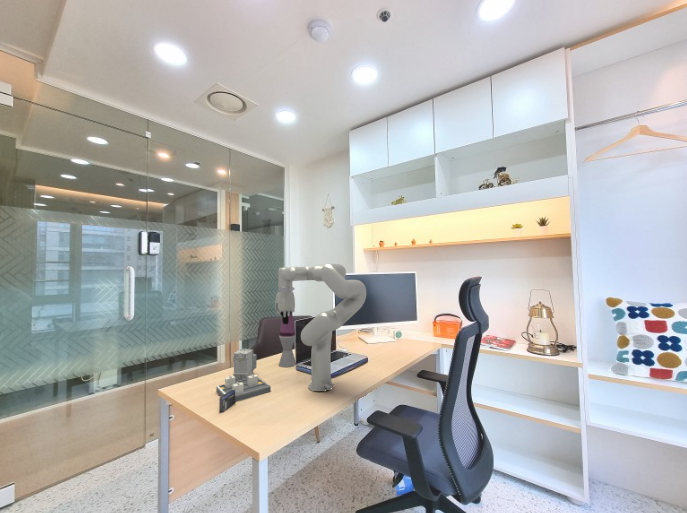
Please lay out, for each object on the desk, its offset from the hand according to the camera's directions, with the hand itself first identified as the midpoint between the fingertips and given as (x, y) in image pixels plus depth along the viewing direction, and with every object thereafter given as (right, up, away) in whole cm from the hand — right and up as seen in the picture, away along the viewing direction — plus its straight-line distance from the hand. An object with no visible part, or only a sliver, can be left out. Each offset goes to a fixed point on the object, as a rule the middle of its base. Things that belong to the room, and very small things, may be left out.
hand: (285, 323), depth 156 cm
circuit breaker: (-22, -30, 0) cm, 37 cm away
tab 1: (-24, -27, -16) cm, 39 cm away
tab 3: (-13, -27, -15) cm, 33 cm away
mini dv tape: (-18, -28, -34) cm, 47 cm away
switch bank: (-17, -28, -18) cm, 37 cm away
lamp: (-3, -31, +22) cm, 37 cm away
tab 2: (-17, -26, -25) cm, 40 cm away
